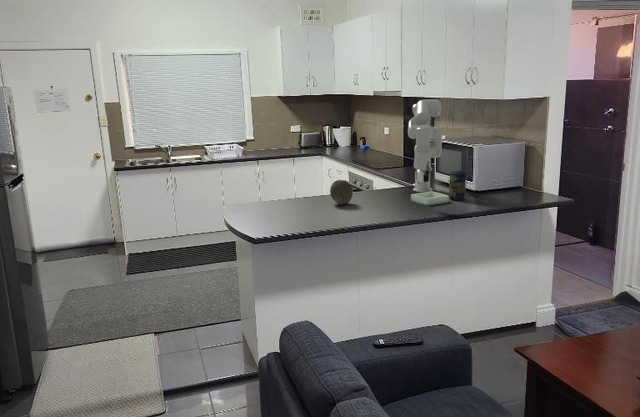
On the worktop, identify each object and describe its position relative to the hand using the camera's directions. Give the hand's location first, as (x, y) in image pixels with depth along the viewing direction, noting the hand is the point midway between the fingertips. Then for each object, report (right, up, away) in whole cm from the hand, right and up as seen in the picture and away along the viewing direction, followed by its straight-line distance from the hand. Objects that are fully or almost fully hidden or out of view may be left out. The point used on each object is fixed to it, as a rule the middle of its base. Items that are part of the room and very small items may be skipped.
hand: (422, 180), depth 296 cm
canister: (+26, -11, +24) cm, 37 cm away
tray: (+8, -12, +21) cm, 25 cm away
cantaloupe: (-45, -14, +21) cm, 52 cm away
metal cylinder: (0, -2, 0) cm, 2 cm away
